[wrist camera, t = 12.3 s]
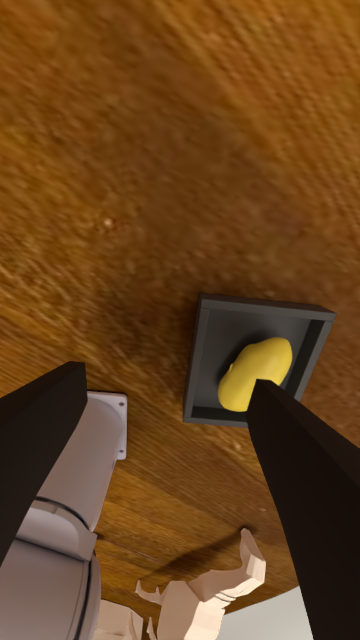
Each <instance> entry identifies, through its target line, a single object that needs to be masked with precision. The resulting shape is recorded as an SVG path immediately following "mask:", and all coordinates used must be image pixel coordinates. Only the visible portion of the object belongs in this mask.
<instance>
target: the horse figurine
mask: <svg viewBox="0 0 360 640" xmlns="http://www.w3.org/2000/svg"><path fill="white" fill-rule="evenodd" d="M240 555H241V559H242V563H243V565H242V567H241V568H239V569H236V570H229V571H217V570H210V572H207V573H204V574H201V575H198V576H199V577H198V578H196V579H194V580H191V581H189V582H186V581H171V582H170V583H169V584H168V586H167V587H166V589H165V590H164V592H163V593H162V595H160V593H159V587H158V586H157V588H156V593H147V592H145V591H143V590H142V589H141V584H140V580H139V579H138V583H137V587H136V591H135V592H136V593H138V594H139V596H140V597H142V598H144V599H146V600H149V601H151V602H155V603H158V604H160V605H162V609H161V614H160V619H159V624H158V628H157V637H158V640H215V639H216V637H217V635H218V633H219V630H220V626H221V621H222V618H223V615H224V612H225V609H224V608H223V607H225V606H227V605H228V604H230V601H232V600H235V599H236V598H235V597H238V596H242V595H246V594H249V593H250V592H251V591H252V590H253V589H255V588H256V587H258V586H260V585H261V584H263V583H264V578H265V567H266V561H265V560H264V558H263V556H262V554H261V553H260V551H259V549H258V547H257V545H256V543H255V541H254V539H253V537H252V535H251V533H250V531H249V530H247V529H245V528H243V529H242V531H241V542H240ZM132 615H133V612H132V611H131V612H130V616H129V619H128V623H127V627H129V632H130V634H131V636H132V639H133V640H138V639H137V636H136V633H135V630H134V626H133V619H132ZM147 633H149V635H150V639H151V640H156V637H155V635H154V632H153V627H152V618H151V617H150V619H149V624H148V628H147Z"/></svg>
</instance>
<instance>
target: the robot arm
mask: <svg viewBox="0 0 360 640" xmlns="http://www.w3.org/2000/svg"><path fill="white" fill-rule="evenodd" d="M121 402H122V403H121ZM246 420H247V424H248V429H249V432H250V436H251V440H252V443H253V446H254V449H255V451H256V454H257V457H258V460H259V462H260V465H261V468H262V470H263V473H264V476H265V478H266V481H267V484H268V486H269V489H270V492H271V495H272V497H273V500H274V503H275V505H276V508H277V511H278V514H279V517H280V520H281V523H282V526H283V529H284V533H285V536H286V540H287V543H288V547H289V550H290V554H291V557H292V560H293V564H294V567H295V571H296V575H297V579H298V582H299V586H300V589H301V593H302V597H303V601H304V604H305V608H306V612H307V616H308V619H309V623H310V627H311V631H312V635H313V639H314V640H360V449H359V448H358V447H357V446H355V445H354V444H353V443H351V442H350V441H349V440H347V439H346V438H345V437H343V436H342V435H340V434H339V433H338V432H336V431H335V430H334V429H333V428H331V427H330V426H329V425H327V424H326V423H325V422H324V421H322V420H321V419H320V418H318V417H317V416H316V415H315V414H313V413H312V412H311V411H310V410H308V409H307V408H306V407H305V406H303V405H302V404H301V403H300V402H298V401H297V400H296V399H295V398H294V397H292V396H291V395H290V394H289V393H287V392H286V391H285V390H284V389H282V388H281V387H280V386H278V385H277V384H276V383H274V382H273V381H272V380H267V379H256V382H255V385H254V388H253V392H252V395H251V398H250V401H249V405H248V408H247V411H246ZM126 454H127V396H126V395H124V394H116V393H105V392H93V391H87V384H86V371H85V363H84V362H73V361H69V362H67V363H65V364H63V365H61V366H59V367H57V368H55V369H54V370H52V371H50V372H48V373H46V374H44V375H43V376H41V377H39V378H37V379H35V380H33V381H32V382H30V383H28V384H26V385H24V386H22V387H21V388H19V389H17V390H15V391H13V392H11V393H9V394H7V395H5V396H3V397H1V398H0V640H93V639H94V635H95V630H96V625H97V620H98V615H99V608H100V600H101V577H100V565H99V561H98V558H97V557H95V556H94V555H92V553H93V549H94V546H95V542H96V539H97V534H95V533H93V530H94V529H95V527H96V524H97V522H98V520H99V517H100V513H101V510H102V507H103V503H104V500H105V497H106V493H107V490H108V486H109V483H110V480H111V476H112V473H113V470H114V466H115V463H116V460H117V459H118V460H123V459H125V458H126Z"/></svg>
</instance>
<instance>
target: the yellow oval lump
mask: <svg viewBox="0 0 360 640" xmlns="http://www.w3.org/2000/svg"><path fill="white" fill-rule="evenodd" d="M291 362H292V350H291V346H290V343H289V341H288V340H286V339H284V338H279V337H274V338H270V339H267V340H264V341H262V342H259V343H256V344H250V345H247V346H246V347H245V348H244V349H243V350H242V351H241V353H240V354H239V355H238V357H237V359H236V360H235V362H234V363H233V364H231V365H230V369H229V370H228V371H227V373H226V374H225V375H224V376H223V378H222V379H221V381H220V383H219V386H218V399H219V402H220V403H221V405H222V406H223V407H224V408H226V409H228V410H231V411H238V412H241V411H247V408H248V405H249V401H250V398H251V395H252V392H253V388H254V385H255V382H256V379H267V380H272V381H273V382H274V383H276V384H277V385H278V386H279V385H280V384H281V382H282V381H283V379H284V378H285V376H286V374H287V372H288V370H289V368H290V365H291Z"/></svg>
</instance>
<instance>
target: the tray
mask: <svg viewBox="0 0 360 640" xmlns="http://www.w3.org/2000/svg"><path fill="white" fill-rule="evenodd" d="M336 315H337V313H335V312H333V311H330V310H328V309H326V308H323V307H321V306H317V305H308V304H299V303H290V302H280V301H271V300H262V299H253V298H243V297H234V296H225V295H216V294H206V293H199V299H198V306H197V313H196V320H195V327H194V333H193V340H192V347H191V354H190V360H189V367H188V374H187V381H186V388H185V394H184V401H183V422H186V423H198V424H210V425H222V426H233V427H245V428H248V424H247V420H246V411H241V412H238V411H231V410H228V409H226V408H224V407H223V406H222V405H221V403H220V402H219V399H218V386H219V383H220V381H221V379H222V378H223V376H224V375H225V374H226V373H227V371H228V370H229V369H230V365H231V364H233V363H234V362H235V360H236V359H237V357H238V355H239V354H240V353H241V351H242V350H243V349H244V348H245V347H246V346H247V345H250V344H256V343H259V342H262V341H264V340H267V339H270V338H274V337H279V338H284V339H286V340H288V341H289V343H290V346H291V350H292V362H291V365H290V368H289V370H288V372H287V374H286V376H285V378H284V379H283V381H282V382H281V384H280V385H279V386H280V387H281V388H282V389H284V390H285V391H286V392H287V393H289V394H290V395H291V396H292V397H294V398H295V399H296V400H297V401H298V402H300V400H301V397H302V395H303V393H304V390H305V388H306V386H307V383H308V381H309V379H310V376H311V374H312V371H313V369H314V367H315V364H316V362H317V360H318V357H319V355H320V353H321V350H322V348H323V345H324V343H325V341H326V338H327V336H328V334H329V331H330V329H331V327H332V324H333V321H334V319H335V317H336Z"/></svg>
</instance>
